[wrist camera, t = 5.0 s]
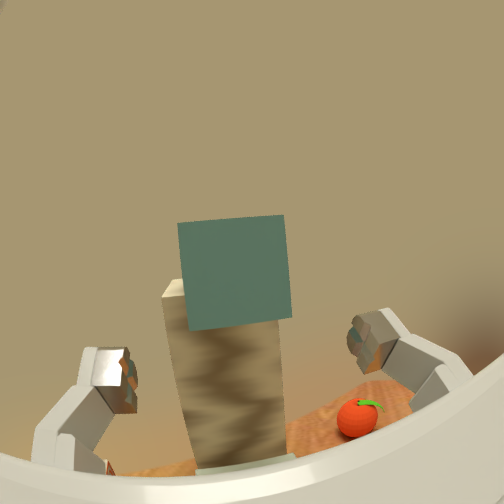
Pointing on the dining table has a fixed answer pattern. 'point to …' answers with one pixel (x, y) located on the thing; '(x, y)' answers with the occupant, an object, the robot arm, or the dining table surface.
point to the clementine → (357, 417)
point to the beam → (234, 271)
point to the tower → (227, 386)
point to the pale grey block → (246, 465)
